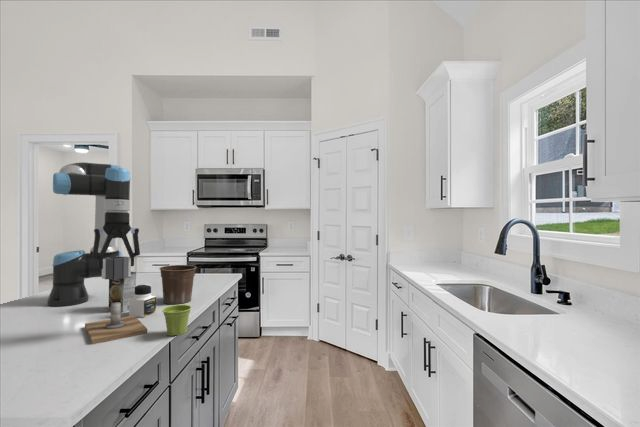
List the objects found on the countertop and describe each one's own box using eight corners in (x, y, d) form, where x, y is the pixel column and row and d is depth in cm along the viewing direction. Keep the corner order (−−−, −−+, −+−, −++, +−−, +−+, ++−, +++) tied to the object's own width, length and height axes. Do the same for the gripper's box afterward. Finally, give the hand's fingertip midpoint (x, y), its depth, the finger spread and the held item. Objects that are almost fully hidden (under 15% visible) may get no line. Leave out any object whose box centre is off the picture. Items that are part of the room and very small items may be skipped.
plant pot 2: (173, 340, 111) (173, 313, 111) (156, 334, 116) (156, 309, 116) (197, 332, 119) (197, 307, 119) (180, 327, 124) (180, 303, 124)
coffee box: (107, 309, 145) (108, 272, 145) (121, 306, 151) (121, 269, 151) (122, 312, 142) (123, 273, 142) (136, 308, 148) (136, 271, 148)
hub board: (84, 327, 122) (85, 301, 122) (134, 319, 133) (134, 294, 133) (91, 344, 107) (92, 314, 107) (147, 333, 117) (147, 305, 117)
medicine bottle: (144, 317, 135) (144, 287, 135) (128, 316, 136) (129, 286, 136) (156, 312, 142) (156, 284, 142) (141, 311, 143) (141, 283, 143)
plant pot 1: (203, 300, 163) (203, 266, 163) (173, 307, 149) (173, 271, 149) (182, 295, 172) (182, 263, 172) (151, 302, 158) (152, 267, 158)
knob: (106, 280, 115) (106, 259, 115) (102, 276, 121) (103, 257, 121) (129, 277, 119) (129, 258, 119) (125, 274, 125) (125, 255, 125)
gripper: (84, 211, 111) (83, 281, 110) (150, 212, 123) (149, 275, 123) (82, 211, 116) (80, 278, 116) (145, 212, 129) (144, 272, 129)
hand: (116, 276), depth 120 cm, fingers closed on knob, 7 cm apart
